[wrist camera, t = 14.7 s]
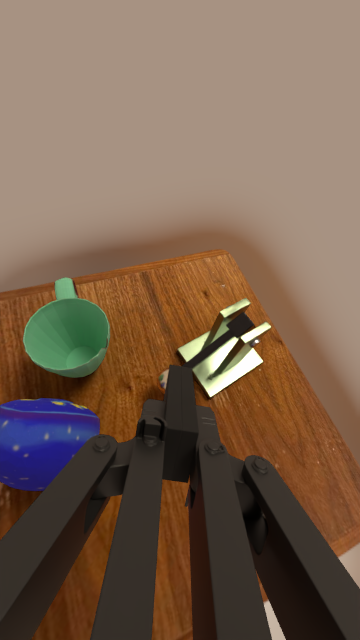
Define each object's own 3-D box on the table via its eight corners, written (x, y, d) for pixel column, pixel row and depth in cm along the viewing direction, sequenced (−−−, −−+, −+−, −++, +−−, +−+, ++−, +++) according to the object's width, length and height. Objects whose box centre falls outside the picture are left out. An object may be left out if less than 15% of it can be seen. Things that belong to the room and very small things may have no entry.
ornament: (109, 413, 37) (93, 382, 25) (94, 490, 33) (66, 502, 20) (28, 406, 37) (-34, 369, 24) (1, 484, 32) (-93, 492, 19)
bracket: (208, 399, 40) (234, 371, 29) (176, 351, 43) (188, 310, 32) (261, 364, 44) (301, 328, 33) (227, 322, 47) (254, 277, 36)
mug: (121, 383, 40) (116, 358, 31) (51, 401, 37) (24, 380, 29) (104, 302, 46) (96, 263, 38) (43, 313, 44) (19, 274, 35)
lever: (171, 399, 37) (161, 401, 34) (158, 377, 39) (147, 378, 35) (259, 332, 35) (258, 328, 32) (242, 311, 36) (239, 305, 33)
